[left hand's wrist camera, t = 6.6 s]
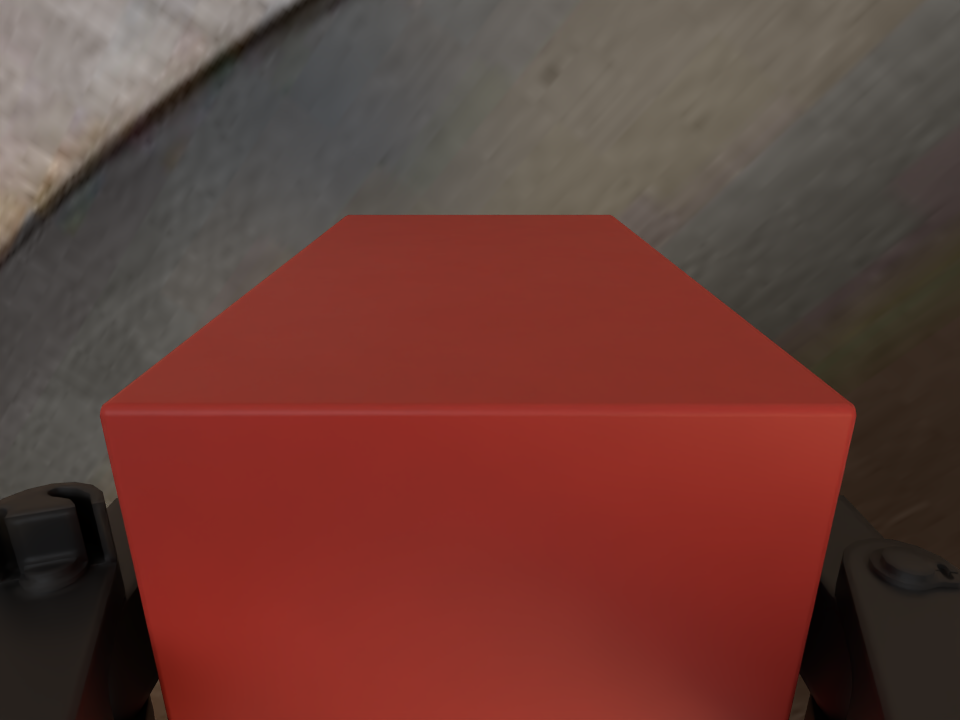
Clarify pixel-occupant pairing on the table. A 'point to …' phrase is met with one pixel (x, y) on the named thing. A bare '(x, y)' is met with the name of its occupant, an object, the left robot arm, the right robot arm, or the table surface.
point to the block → (478, 485)
